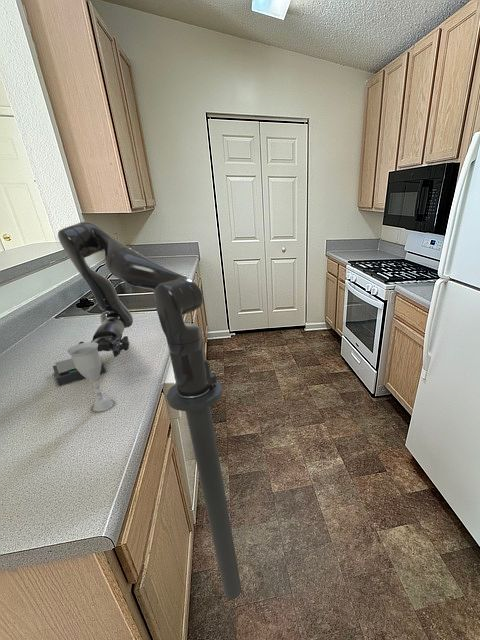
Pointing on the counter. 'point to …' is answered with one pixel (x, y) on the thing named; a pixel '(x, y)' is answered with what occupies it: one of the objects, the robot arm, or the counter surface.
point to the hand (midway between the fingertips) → (98, 356)
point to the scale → (70, 375)
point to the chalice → (90, 370)
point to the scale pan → (65, 366)
